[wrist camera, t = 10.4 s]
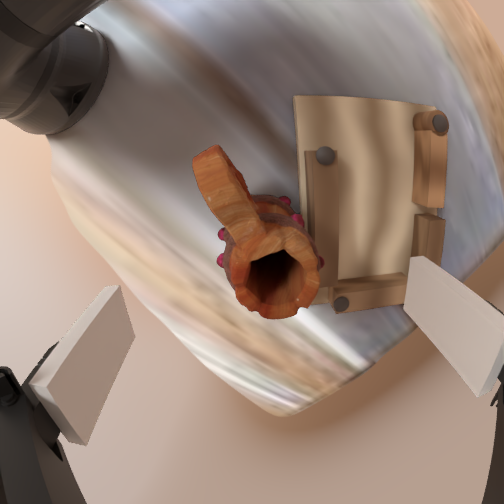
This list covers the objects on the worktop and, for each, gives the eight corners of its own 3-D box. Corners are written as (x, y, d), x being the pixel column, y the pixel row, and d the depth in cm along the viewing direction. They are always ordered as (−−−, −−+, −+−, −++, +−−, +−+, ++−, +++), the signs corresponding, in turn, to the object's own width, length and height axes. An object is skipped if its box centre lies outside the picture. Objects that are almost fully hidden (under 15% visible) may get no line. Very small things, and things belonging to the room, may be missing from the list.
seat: (301, 299, 37) (310, 322, 32) (292, 97, 29) (302, 88, 24) (422, 283, 37) (442, 300, 32) (429, 107, 29) (454, 104, 24)
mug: (311, 245, 34) (356, 310, 20) (250, 277, 35) (257, 359, 21) (250, 132, 30) (258, 114, 16) (184, 169, 31) (140, 185, 17)
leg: (412, 110, 28) (430, 107, 24) (431, 114, 28) (450, 112, 24) (409, 201, 31) (427, 207, 28) (428, 202, 31) (447, 208, 28)
